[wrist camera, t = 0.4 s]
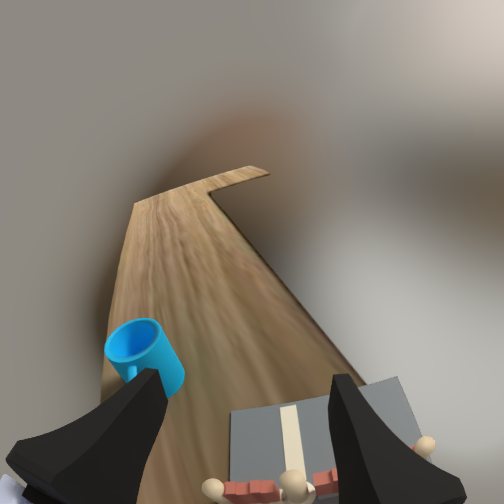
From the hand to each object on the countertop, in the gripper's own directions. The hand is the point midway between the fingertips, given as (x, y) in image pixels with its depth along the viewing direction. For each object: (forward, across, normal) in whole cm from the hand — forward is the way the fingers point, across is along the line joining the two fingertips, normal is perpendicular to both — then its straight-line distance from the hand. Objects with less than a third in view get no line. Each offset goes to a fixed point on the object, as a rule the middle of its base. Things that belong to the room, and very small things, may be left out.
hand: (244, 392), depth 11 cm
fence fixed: (+3, 0, +19) cm, 20 cm away
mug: (+18, +15, +20) cm, 30 cm away
